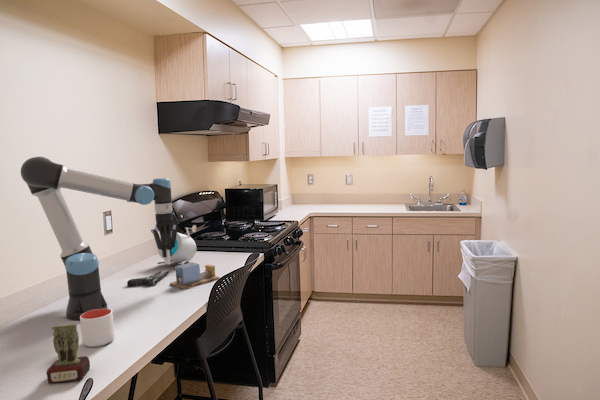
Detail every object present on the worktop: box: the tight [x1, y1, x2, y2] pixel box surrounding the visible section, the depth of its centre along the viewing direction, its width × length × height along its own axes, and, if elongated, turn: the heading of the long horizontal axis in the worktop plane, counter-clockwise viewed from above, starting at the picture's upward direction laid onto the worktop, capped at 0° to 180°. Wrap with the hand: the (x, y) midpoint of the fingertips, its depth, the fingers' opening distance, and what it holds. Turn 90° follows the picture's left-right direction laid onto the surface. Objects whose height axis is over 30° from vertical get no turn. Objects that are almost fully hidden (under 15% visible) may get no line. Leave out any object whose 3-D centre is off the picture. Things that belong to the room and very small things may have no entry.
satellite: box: [157, 224, 198, 266], centre depth 261 cm, size 23×20×25 cm
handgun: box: [127, 269, 170, 288], centre depth 231 cm, size 20×3×14 cm
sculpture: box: [46, 324, 91, 384], centre depth 134 cm, size 10×8×15 cm
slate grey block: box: [174, 262, 201, 285], centre depth 221 cm, size 9×6×8 cm
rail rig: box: [169, 264, 221, 290], centre depth 224 cm, size 20×12×6 cm, turn 136°
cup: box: [79, 308, 116, 348], centre depth 158 cm, size 10×10×10 cm
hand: (167, 263), depth 214 cm, fingers closed
